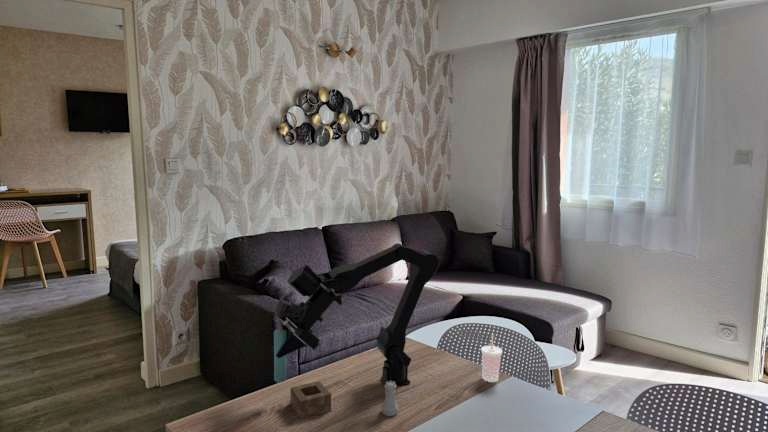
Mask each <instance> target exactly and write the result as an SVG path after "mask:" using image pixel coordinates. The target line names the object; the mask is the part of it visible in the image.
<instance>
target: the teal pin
mask: <svg viewBox="0 0 768 432" xmlns="http://www.w3.org/2000/svg"><path fill="white" fill-rule="evenodd" d="M286 340H287V331H286V330H283V329H280V328H279V329H275V330H274V331H273V346H274V352H273V380H274V382H277V383H284V382H285V381H287V379H288V378H287V376H288V375H287V371H288V370H287V368H288V367H287V366H288V365H287V364H288V363H287V361H288V360H287V355H288V354H287V355H285V356H283V357H280V358H278V357H276V354H277V353H278V351H279V350H280V348H281V347H282V345H283V344H284V342H285V341H286Z"/></svg>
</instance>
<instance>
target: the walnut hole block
mask: <svg viewBox="0 0 768 432" xmlns="http://www.w3.org/2000/svg"><path fill="white" fill-rule="evenodd" d="M290 405H291V406H292V407H293V409H294V411H296V413H297V414H298V416H299V417H300V419H303V418H307V417H311V416H315V415H319V414H324V413H327V412H331V411H332V393H331V392H330V391H329V390H328V389H327V388H326V387H325V385H323V383H322V382H321V381H319V380H318V381H314V382H309V383H304V384H300V385H295V386H290Z"/></svg>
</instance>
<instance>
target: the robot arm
mask: <svg viewBox="0 0 768 432" xmlns="http://www.w3.org/2000/svg"><path fill="white" fill-rule="evenodd" d="M399 261H404V262H407V263H409V267H408V268H409V270H408V271H409V273H408V275H409V276H408V280H407V284H406V285H405V288H404V290H403V293H402V294H401V298H400V300H399V303H398V305H397V307H396V310H395V312H394V314H393V317H392V319H391V322H390V324H389V325H388V326H386V327H383V326H381V327H380V330H379V333H378V336H377V337H376V338H375V340H376V348H377V350H378V351H379V352H380V353H381V354H382V355H383V357H384V358H385V360H384V361H383V366H382V373H381V374H382V375H381V376H380V379H381V381H383V382H384V383H385V384H386V381H388V382H389V381H391V382H392V383H393V381H394V382H395V384H396V386H397V387H400V386H404V385H409V384H411V380H410V379H409V378H408V375H409V373H408V372H409V371H408V370H409V366H410V364H411V361H412V358H411V357H410V356H409V355H408V354H407V353H406V352H405V347H406V344H407V343H406V341H407V340H406V339H407V338H406V337H407V336H406V333H407V332H406V331H407V329H408V326H409V324H410V322H411V319H412V316H413V313H414V312H415V309H416V307H417V305H418V303H419V302H418V301H419V300H420V297H421V294H422V292H423V289H424V287H425V286H426V284H427V283H428V282H429V281H430V280H431V279H433V277H434V275H435V274H436V272H437V271H438V269H439V267H440V261H439V258H438V257H437V255H435V254H433V253H431V252H429V251H427V250H425V249H418V250H416V249H413V248H410V247H408V246H406V245H403V244H402V243H395V244H393V245H392V246H389V247H388V248H385V249H384V250H381V251H379V252H377V253H375V254H373V255H371V256H369V257H367V258H364V259H363V260H360V261H358V262H356V263H351V264H348V263H347V264H343V265H341V266H340V265H339V266H335V267H333V268H331V269H330V270H329V271H327V272H321V273H318V274H317V273H316V272H315V271H313V269H312V268H311V267H310V266H309V264H307V263H304V265H303V266H300V267H298V268H297V269H295V270H294V271H293V272H292V273H291V274H290V276H289V277H288V278H287V283H288V285H289V286H291V287H292V288H293V289H294V290H295V291H296V292H298V293H299V294H300V296H303V297H308V299H307V300H306V301H305V302H304V301H300V302H299V303H294V302H290V301H287V300H284V299H279V301H278V303H277V304H276V307H275V312H277V313H276V314H275V316H276V317H278V319H280V321H279V323H278V324H279V326H280V327H279V329H283V330H286V331H287V340H286V341H285V342H284V344H283V345H282V347H281V348H280V350H279V351H278V353H277V354H276V357H278V358H280V357H283V356H285V355H289V354H291V353H293V352H296V351H297V350H300V349H302V348H307V347H310V349H312V350H313V351H316V350H317V348H318V347H319V346H320V345H321V344H320V343H321V342H320V338H318V337H317V335H315V334H314V333H313V332H314V331H313V330H312V329H313V327H314V326H315V325H316V324H317V323H318V322H320V323H322V321H324V318H323V316H324V314H325V313H326V312H327V311H328V310H329V308H331V306H332V305H333V304H334V303H336V304H337V305H339V306H342V305H343V301H342V294H345V293H348V292H349V291H350V290H352V289H354V288H355V287H356V286H358V285H359V284H360V283H361V282H362V280H364V279H366V277H369V276H370V275H373V274H375V273H377V272H379V271H381V270H384V269H386V268H388V267H389V266H391V265H393V264H396V263H397V262H399ZM333 290H334V291H335V292H334V291H333ZM336 292H337V293H336ZM281 320H282V321H281ZM271 352H273V353H274V345H273V347H272V349H271Z"/></svg>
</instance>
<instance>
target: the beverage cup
mask: <svg viewBox="0 0 768 432" xmlns="http://www.w3.org/2000/svg"><path fill="white" fill-rule="evenodd" d="M480 349H481V351H480V353H481V368H482V369H481V374H482V378H481V379H482V380H483V379H484V380H483V381H485V382H487V381H488V383H496V382H498V381H499V377H500V369H501V360H502V355H503V349H502V348H501V347H498V346H495V345H494V332H492V333H491V342H490V345H483V346H482V347H481V348H480Z"/></svg>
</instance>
